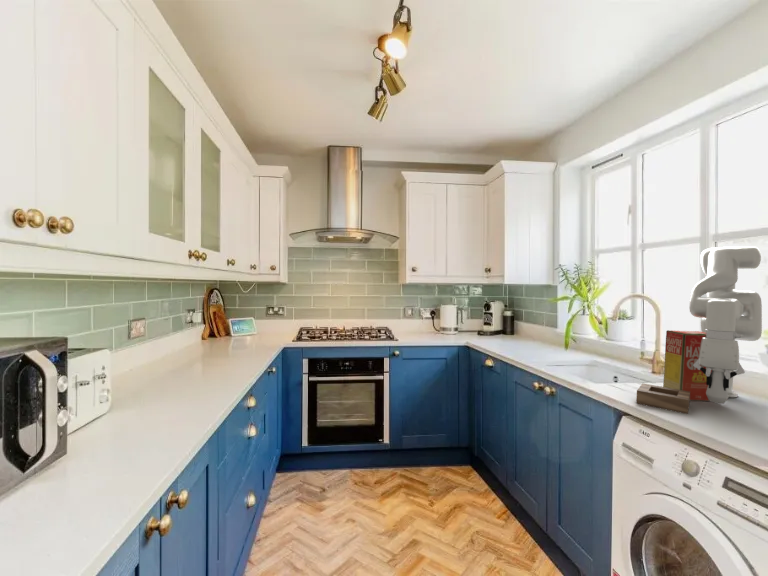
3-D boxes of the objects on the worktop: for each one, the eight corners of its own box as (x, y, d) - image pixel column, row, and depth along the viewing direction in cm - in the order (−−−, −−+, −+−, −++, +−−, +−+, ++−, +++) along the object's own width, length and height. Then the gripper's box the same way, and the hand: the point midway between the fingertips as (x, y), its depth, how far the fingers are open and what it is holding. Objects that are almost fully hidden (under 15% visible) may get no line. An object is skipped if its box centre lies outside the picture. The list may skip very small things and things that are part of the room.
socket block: (642, 396, 141) (642, 383, 141) (689, 405, 131) (690, 391, 131) (636, 404, 130) (636, 390, 130) (687, 415, 121) (688, 399, 121)
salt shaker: (732, 405, 124) (734, 366, 123) (712, 403, 125) (714, 365, 124) (720, 399, 129) (722, 362, 129) (701, 398, 131) (703, 361, 130)
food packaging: (680, 400, 136) (683, 332, 135) (661, 393, 145) (664, 329, 145) (716, 401, 136) (719, 334, 136) (694, 394, 145) (697, 330, 145)
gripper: (752, 337, 123) (749, 391, 124) (689, 331, 134) (687, 381, 135) (754, 340, 118) (751, 396, 119) (688, 333, 129) (685, 385, 130)
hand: (717, 388), depth 127 cm, fingers closed on salt shaker, 3 cm apart
